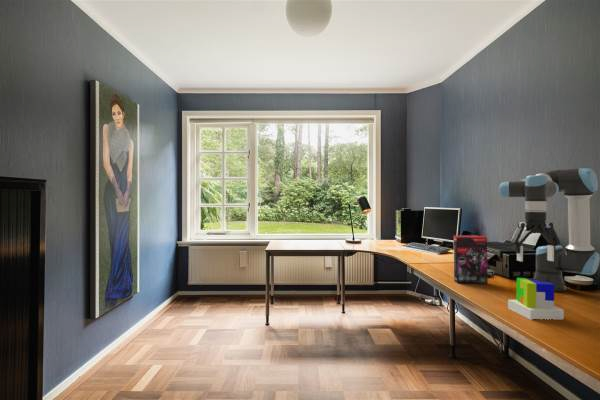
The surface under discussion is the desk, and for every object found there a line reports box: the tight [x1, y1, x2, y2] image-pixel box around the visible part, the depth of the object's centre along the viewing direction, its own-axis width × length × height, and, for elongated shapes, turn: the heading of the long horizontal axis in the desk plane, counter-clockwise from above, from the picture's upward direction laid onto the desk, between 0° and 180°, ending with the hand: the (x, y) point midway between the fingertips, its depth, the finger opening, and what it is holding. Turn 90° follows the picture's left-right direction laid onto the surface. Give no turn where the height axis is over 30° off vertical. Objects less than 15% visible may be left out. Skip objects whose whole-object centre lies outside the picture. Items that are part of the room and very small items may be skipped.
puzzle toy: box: [516, 277, 555, 309], centre depth 145 cm, size 10×10×10 cm
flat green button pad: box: [487, 268, 495, 277], centre depth 221 cm, size 18×18×5 cm
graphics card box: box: [453, 235, 489, 285], centre depth 198 cm, size 17×7×27 cm, turn 83°
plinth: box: [507, 299, 565, 321], centre depth 145 cm, size 14×14×4 cm
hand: (535, 260), depth 145 cm, fingers open, 13 cm apart
